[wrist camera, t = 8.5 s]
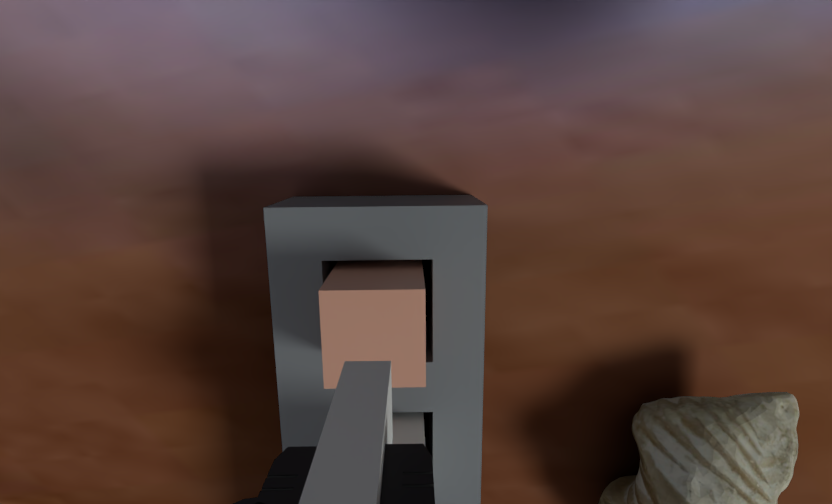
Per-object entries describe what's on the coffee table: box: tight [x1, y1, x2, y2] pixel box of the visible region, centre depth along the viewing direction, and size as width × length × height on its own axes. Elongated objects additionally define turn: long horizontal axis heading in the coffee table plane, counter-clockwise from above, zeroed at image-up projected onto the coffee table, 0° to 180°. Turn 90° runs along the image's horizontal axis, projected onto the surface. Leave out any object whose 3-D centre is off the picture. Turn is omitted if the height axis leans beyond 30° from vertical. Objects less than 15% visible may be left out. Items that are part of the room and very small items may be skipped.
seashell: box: [598, 392, 799, 504], centre depth 29 cm, size 14×9×10 cm
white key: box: [392, 412, 425, 445], centre depth 24 cm, size 5×5×7 cm
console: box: [263, 195, 487, 504], centre depth 28 cm, size 28×11×6 cm, turn 1°
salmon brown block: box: [319, 260, 426, 389], centre depth 24 cm, size 5×5×7 cm
